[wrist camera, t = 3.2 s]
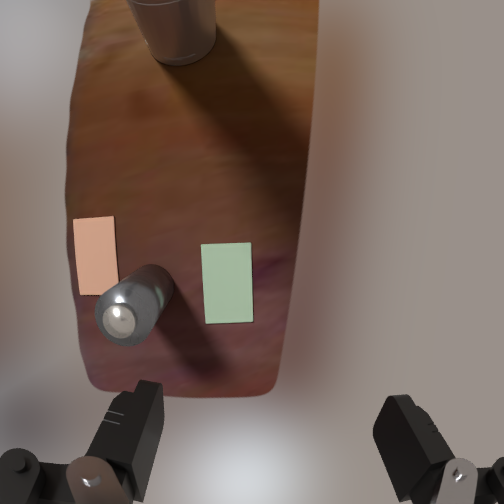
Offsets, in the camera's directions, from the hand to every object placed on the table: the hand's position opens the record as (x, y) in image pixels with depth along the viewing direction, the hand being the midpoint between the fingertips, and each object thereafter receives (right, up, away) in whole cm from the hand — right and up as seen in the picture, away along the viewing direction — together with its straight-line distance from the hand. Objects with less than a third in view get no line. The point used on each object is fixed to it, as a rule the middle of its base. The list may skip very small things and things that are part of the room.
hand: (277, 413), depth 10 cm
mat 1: (-21, +5, +27) cm, 34 cm away
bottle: (-13, +1, +28) cm, 31 cm away
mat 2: (-4, +2, +29) cm, 29 cm away
